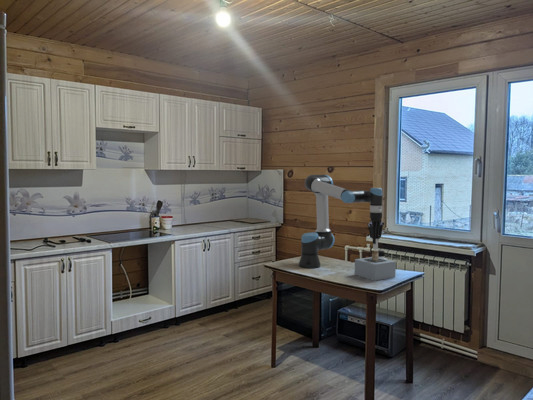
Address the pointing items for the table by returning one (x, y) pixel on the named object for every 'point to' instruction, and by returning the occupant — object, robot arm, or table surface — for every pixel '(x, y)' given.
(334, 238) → the robot arm
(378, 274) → the socket block
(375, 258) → the peg
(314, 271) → the table surface
